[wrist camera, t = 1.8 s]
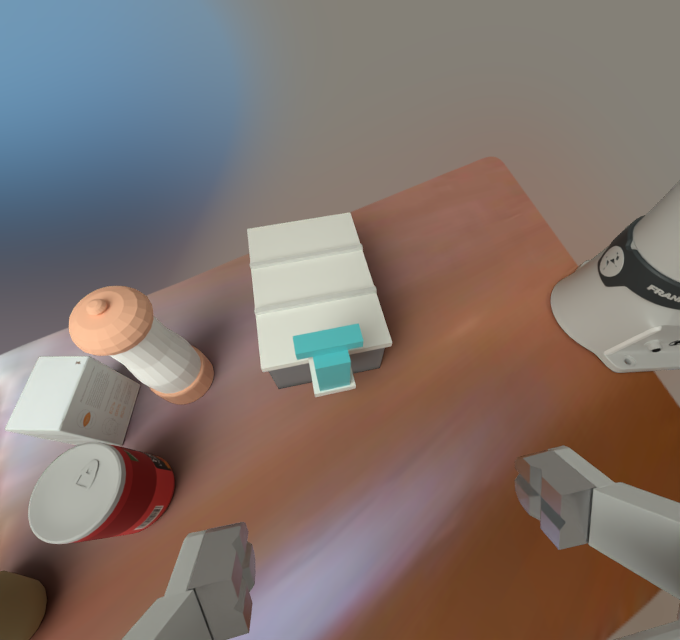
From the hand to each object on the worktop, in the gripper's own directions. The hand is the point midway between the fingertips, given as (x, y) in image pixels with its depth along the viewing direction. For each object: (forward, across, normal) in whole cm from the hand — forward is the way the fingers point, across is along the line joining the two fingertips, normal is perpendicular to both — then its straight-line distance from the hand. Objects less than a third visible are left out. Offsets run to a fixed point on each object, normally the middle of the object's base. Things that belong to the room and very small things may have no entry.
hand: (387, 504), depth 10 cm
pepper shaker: (+36, +19, +9) cm, 42 cm away
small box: (+34, +29, +11) cm, 46 cm away
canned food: (+27, +24, +18) cm, 40 cm away
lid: (+33, 0, 0) cm, 33 cm away
